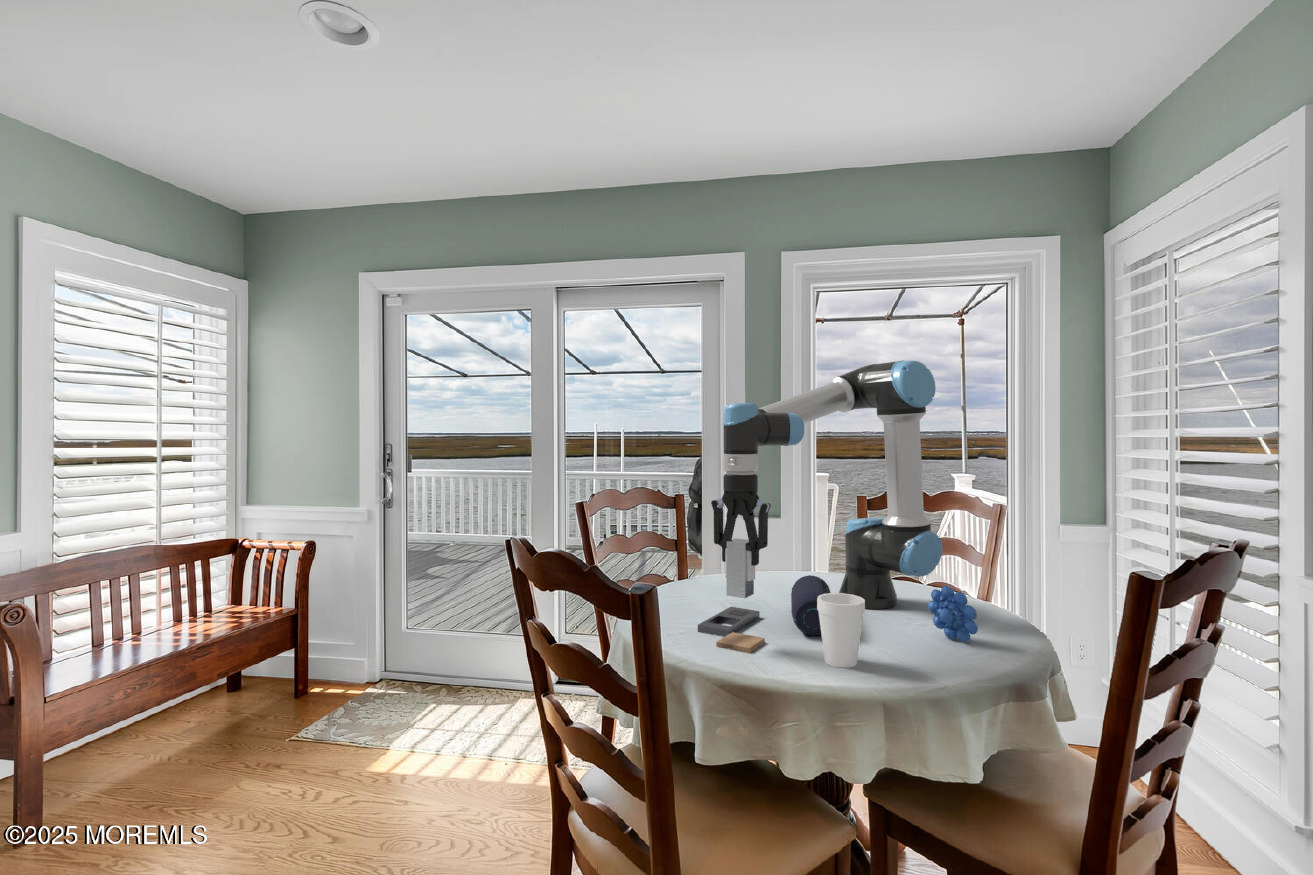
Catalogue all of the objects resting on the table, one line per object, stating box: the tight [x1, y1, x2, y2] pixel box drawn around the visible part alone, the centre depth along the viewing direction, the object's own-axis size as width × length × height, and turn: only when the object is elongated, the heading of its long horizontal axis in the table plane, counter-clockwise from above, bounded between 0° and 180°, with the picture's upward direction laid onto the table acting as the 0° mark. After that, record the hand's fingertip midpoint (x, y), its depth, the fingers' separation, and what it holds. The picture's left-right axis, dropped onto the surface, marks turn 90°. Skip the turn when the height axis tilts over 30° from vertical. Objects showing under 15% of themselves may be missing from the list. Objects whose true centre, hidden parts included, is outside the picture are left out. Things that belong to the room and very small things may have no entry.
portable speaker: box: [790, 574, 832, 636], centre depth 160 cm, size 25×10×10 cm, turn 169°
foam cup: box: [817, 592, 866, 669], centre depth 134 cm, size 10×9×13 cm
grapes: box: [927, 585, 979, 643], centre depth 147 cm, size 12×7×12 cm, turn 36°
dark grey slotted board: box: [697, 606, 761, 637], centre depth 159 cm, size 8×18×2 cm, turn 148°
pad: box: [716, 632, 766, 654], centre depth 145 cm, size 8×8×1 cm
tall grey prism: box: [726, 538, 755, 599], centre depth 144 cm, size 4×4×12 cm
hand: (740, 577), depth 144 cm, fingers closed on tall grey prism, 4 cm apart
